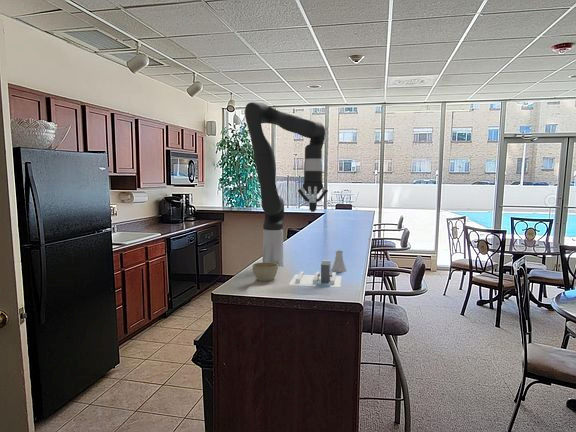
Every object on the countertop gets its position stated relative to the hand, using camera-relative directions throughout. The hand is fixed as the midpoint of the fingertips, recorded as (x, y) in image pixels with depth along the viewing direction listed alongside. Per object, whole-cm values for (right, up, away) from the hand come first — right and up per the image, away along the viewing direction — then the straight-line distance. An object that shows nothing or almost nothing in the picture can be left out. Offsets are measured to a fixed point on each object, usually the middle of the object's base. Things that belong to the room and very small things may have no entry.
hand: (312, 211), depth 166 cm
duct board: (+1, -28, -13) cm, 31 cm away
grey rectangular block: (+4, -27, -13) cm, 30 cm away
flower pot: (-19, -28, -10) cm, 36 cm away
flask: (+12, -27, +4) cm, 29 cm away
